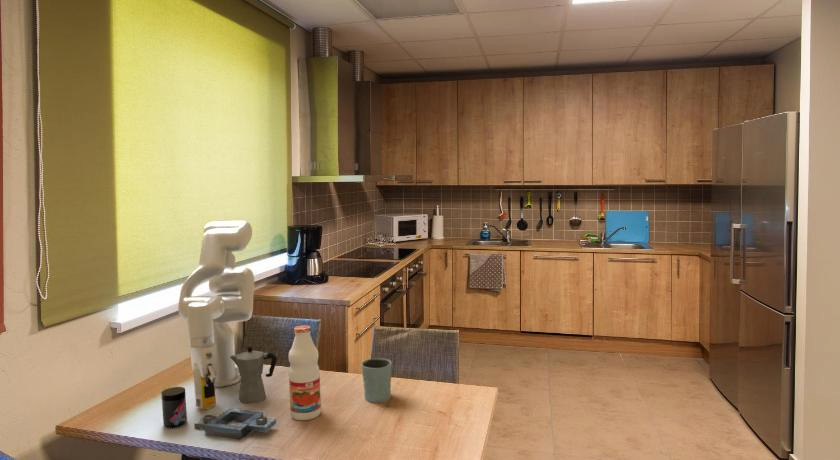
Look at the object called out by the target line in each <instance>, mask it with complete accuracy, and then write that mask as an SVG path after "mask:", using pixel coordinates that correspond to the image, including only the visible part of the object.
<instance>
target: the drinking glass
mask: <svg viewBox="0 0 840 460" xmlns="http://www.w3.org/2000/svg"><path fill="white" fill-rule="evenodd" d="M392 363H393V362H392V361H391V360H390V359H388V358H382V357H378V358H369V359H366V360H363V361H362V362H361V371H362V372H361V374H362V380H363V381H362V382H363V390H364V399H365V401H367V402H368V403H369V402H370V403H374V404H377V403H378V404H379V403H380V404H381V403H385V402H387V401H389V400H390V399H391V396H392V395H391V391H392V390H391V386H392V385H391V383H392V382H391V381H392V365H393V364H392Z"/></svg>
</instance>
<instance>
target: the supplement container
mask: <svg viewBox="0 0 840 460" xmlns="http://www.w3.org/2000/svg"><path fill="white" fill-rule="evenodd" d="M160 393H161V394H160V395H161V408H162V423H163V426H164V427H165V428H167V429H177V428H180V427H183V426H184V425H186V423H187V422H188V413H187V398H186V395H187V394H186V388H185V387H181V386H174V387H169V388H165V389H164V390H162V391H161V392H160Z"/></svg>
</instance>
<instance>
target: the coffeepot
mask: <svg viewBox="0 0 840 460" xmlns="http://www.w3.org/2000/svg"><path fill="white" fill-rule="evenodd" d="M246 348H247V351H244V352H241V353H238V354H235V355H233V356H231V357H230V358H231V359H232V360H233V361H234V362H235V366H237V367H238V369H239V374H240V377H241V378H240V380H239V391H238V401H239V402H240V403H241V404H245V405H249V404H250V405H252V404H257V403H260V402H262V401H264V400H265V399H266V398H267V393H266V390H265V386H264V382H263V378H262V377H263V376H262V374H263V372H264V361H265V360H267V359H271V362H270V367H269V369H268V370H269V373H265V378H269V377H270V378H271V377H272V376H273V374H274V371H275V367H276V366H277V361H278V356H276V355H275V354H274V353H273V352H263V351H258V350H253V346H251V345H250V346H247V347H246Z"/></svg>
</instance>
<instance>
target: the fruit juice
mask: <svg viewBox="0 0 840 460" xmlns="http://www.w3.org/2000/svg"><path fill="white" fill-rule="evenodd" d="M293 331H294V334H295V336H294V338H293V342H292V346H291V348H290V350H289V352H288V362H289V365H290V366H289V369H288V387H289V388H288V389H289V390H288V391H289V407H290V408H289V409H290V410H289V411H290V416H291V418H292V419H294V420H297V421H310V420H312V419H313V420H314V419H316V418H317V417H319V416H320V415H321V414H322V413H321V412H322V407H321V406H322V403H321V401H322V399H321V398H322V397H321V379H320V377H321V372H320V366H319V365H318V360H319V351H318V348H317V347H316V345H315V343H314V341H313V339H312V336H311V326H310V325H306V324H305V325H297V326H295V327H294V329H293Z"/></svg>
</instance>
